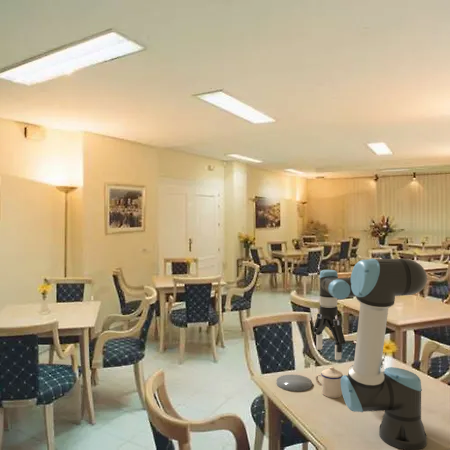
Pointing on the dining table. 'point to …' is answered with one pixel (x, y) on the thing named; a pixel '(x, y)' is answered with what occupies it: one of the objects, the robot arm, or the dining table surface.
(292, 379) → the pad
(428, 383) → the dining table surface
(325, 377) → the teacup with lid
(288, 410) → the dining table surface
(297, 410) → the dining table surface
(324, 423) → the dining table surface
